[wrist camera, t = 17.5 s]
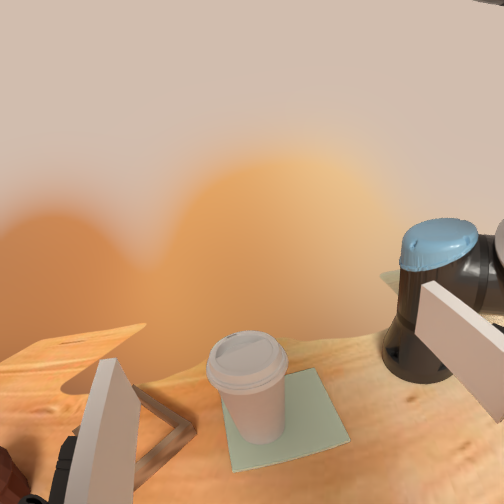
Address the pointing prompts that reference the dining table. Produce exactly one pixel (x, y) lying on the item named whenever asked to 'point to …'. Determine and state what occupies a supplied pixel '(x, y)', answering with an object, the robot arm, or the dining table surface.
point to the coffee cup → (251, 383)
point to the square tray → (166, 446)
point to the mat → (292, 426)
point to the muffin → (11, 480)
